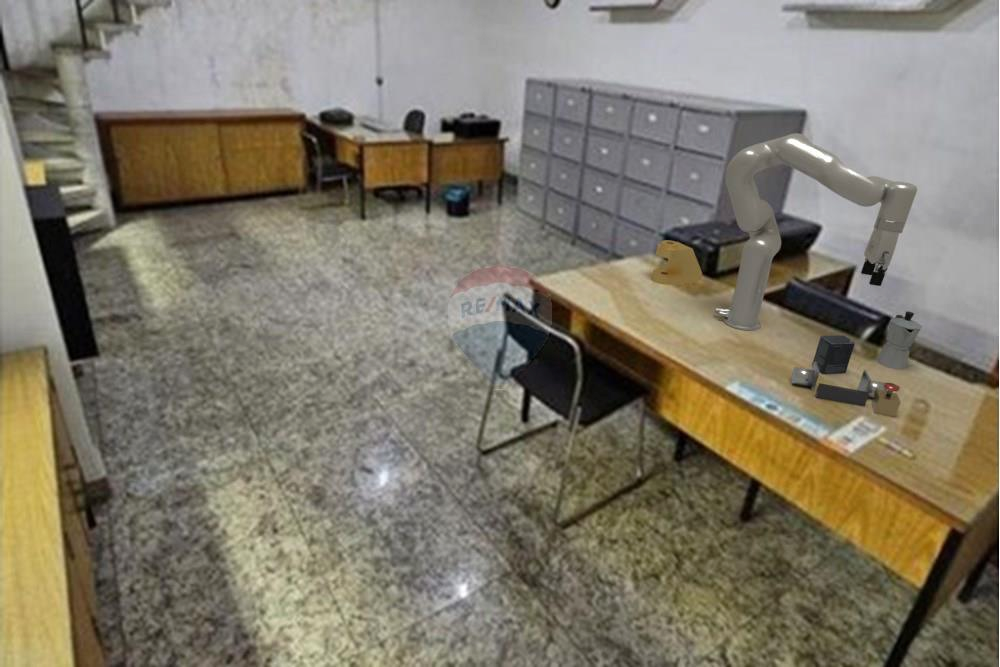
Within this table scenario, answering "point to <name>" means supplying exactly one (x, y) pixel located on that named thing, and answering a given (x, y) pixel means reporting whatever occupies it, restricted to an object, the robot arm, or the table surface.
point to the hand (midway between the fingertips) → (870, 279)
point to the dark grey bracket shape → (835, 392)
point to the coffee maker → (899, 342)
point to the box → (833, 354)
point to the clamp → (677, 264)
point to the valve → (886, 400)
